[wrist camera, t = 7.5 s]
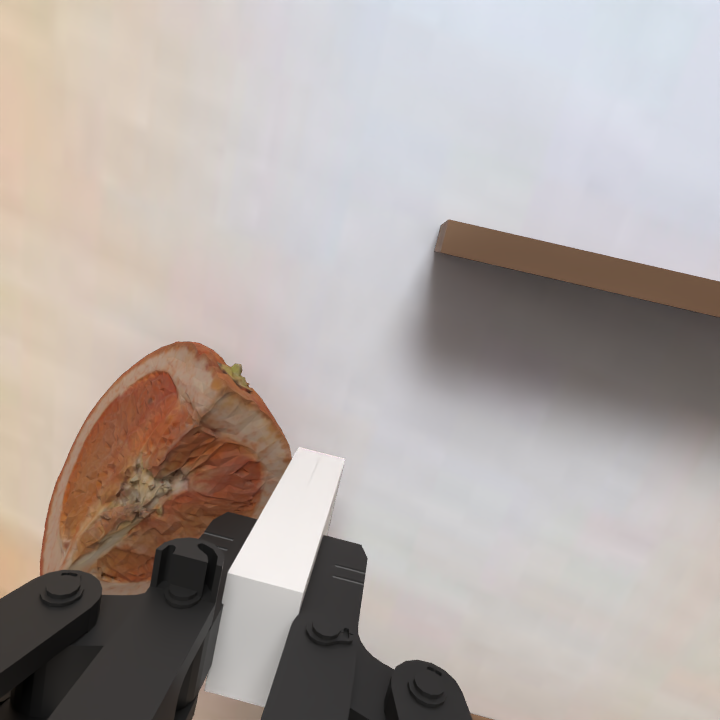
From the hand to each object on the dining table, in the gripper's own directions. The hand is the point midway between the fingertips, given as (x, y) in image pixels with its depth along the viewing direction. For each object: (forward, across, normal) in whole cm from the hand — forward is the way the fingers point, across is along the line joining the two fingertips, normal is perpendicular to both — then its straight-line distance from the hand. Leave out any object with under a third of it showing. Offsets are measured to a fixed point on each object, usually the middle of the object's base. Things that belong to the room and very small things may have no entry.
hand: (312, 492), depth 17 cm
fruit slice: (+2, +4, 0) cm, 5 cm away
